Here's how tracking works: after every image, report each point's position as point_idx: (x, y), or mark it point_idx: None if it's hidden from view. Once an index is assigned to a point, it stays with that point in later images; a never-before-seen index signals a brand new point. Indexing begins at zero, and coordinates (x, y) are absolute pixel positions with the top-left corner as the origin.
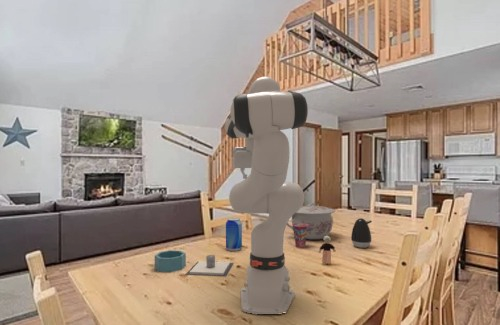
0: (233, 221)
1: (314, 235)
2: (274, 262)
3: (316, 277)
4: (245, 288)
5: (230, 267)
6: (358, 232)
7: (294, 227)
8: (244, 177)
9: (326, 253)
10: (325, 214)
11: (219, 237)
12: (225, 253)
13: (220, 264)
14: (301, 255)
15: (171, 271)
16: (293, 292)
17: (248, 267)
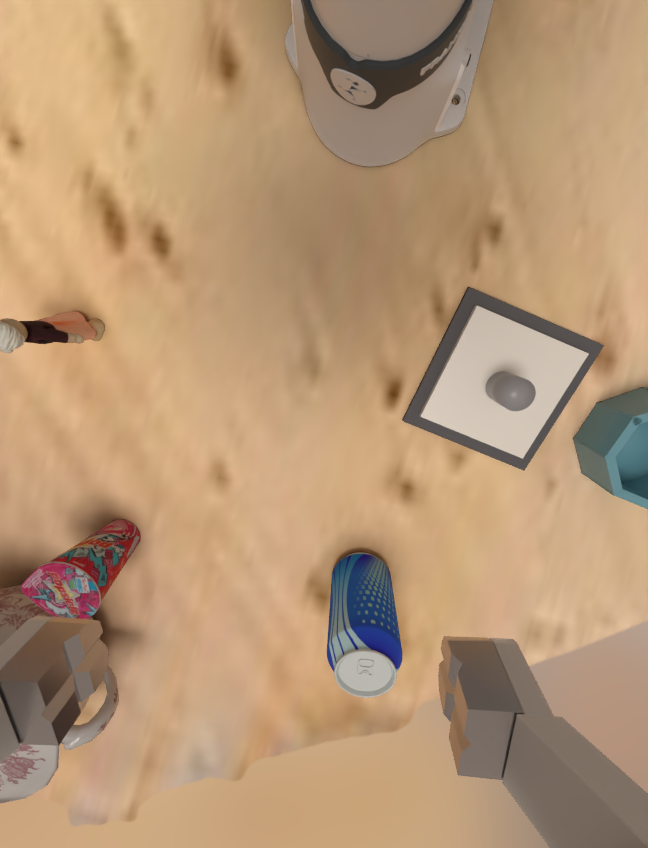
0: (373, 646)
1: None
2: None
3: (161, 203)
4: (445, 122)
5: (428, 376)
6: None
7: (99, 580)
8: (510, 651)
9: (57, 325)
10: None
11: (376, 710)
12: (401, 537)
13: (461, 400)
14: (146, 442)
15: (641, 389)
16: (291, 31)
17: (462, 47)
